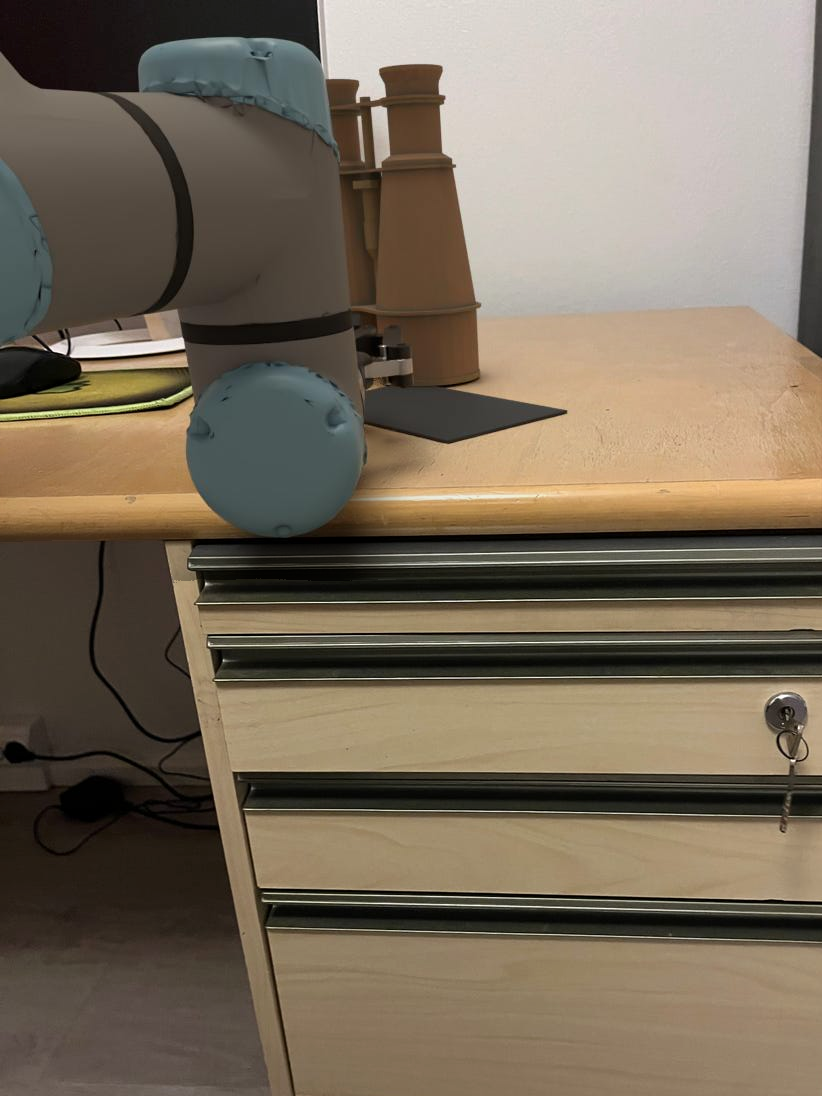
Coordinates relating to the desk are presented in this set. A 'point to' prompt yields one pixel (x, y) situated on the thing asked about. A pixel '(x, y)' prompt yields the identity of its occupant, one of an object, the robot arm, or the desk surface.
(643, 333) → the desk surface
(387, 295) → the binoculars
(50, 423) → the desk surface
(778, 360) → the desk surface
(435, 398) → the felt pad
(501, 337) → the desk surface
